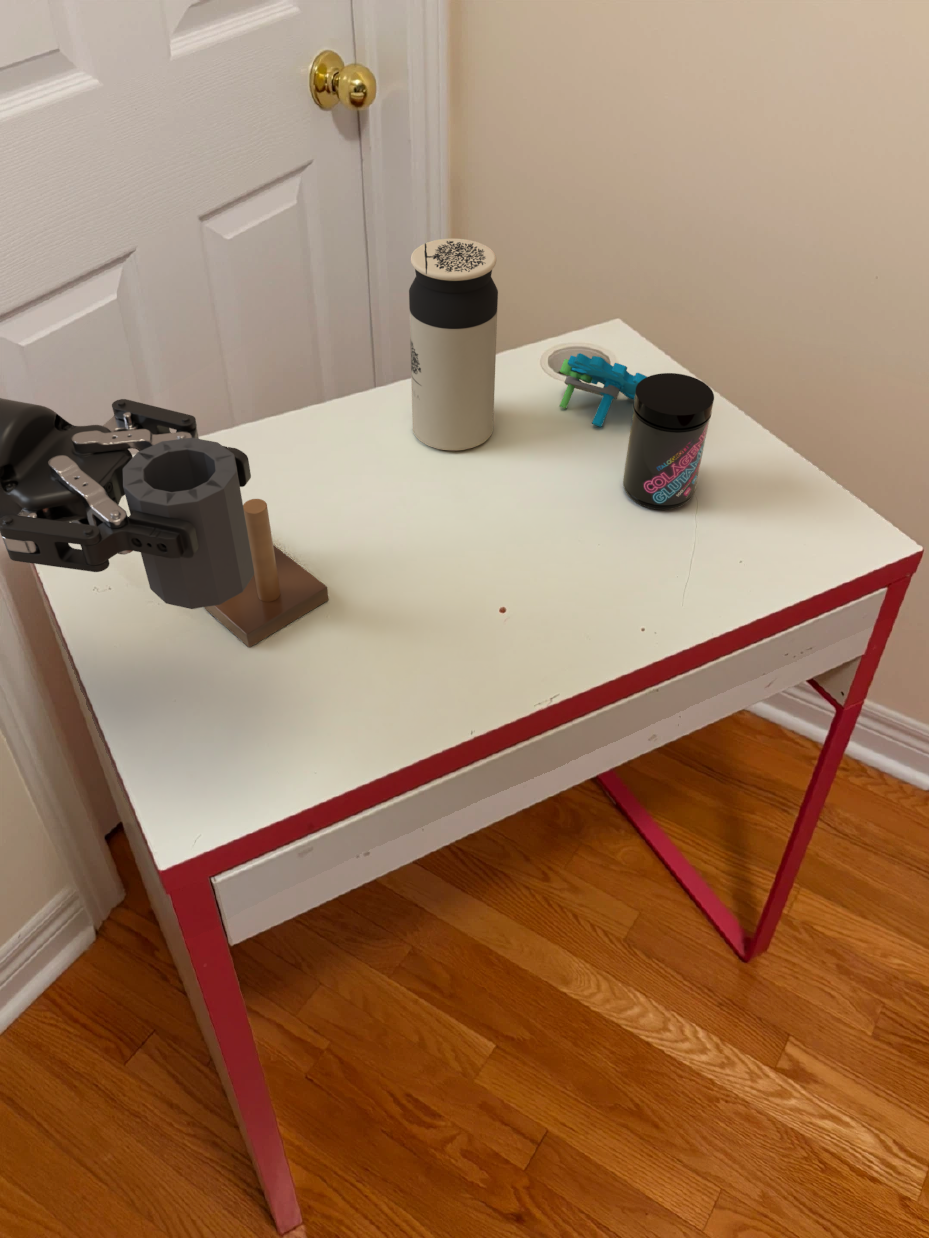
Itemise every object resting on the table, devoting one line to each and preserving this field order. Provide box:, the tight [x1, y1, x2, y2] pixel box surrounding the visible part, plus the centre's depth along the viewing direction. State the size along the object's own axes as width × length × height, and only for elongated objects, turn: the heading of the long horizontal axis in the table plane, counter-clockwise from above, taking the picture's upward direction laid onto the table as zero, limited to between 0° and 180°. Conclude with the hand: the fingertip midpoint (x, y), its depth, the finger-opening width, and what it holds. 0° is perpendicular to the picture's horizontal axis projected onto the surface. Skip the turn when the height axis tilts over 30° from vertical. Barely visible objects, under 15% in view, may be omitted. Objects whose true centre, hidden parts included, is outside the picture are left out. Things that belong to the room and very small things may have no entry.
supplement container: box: [622, 372, 715, 511], centre depth 94 cm, size 7×7×10 cm
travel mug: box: [408, 238, 499, 451], centre depth 98 cm, size 8×8×18 cm
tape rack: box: [203, 498, 329, 648], centre depth 84 cm, size 12×8×10 cm, turn 44°
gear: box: [559, 352, 648, 428], centre depth 104 cm, size 11×6×10 cm
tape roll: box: [123, 438, 254, 610], centre depth 63 cm, size 6×6×8 cm
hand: (221, 504), depth 62 cm, fingers closed on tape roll, 6 cm apart
